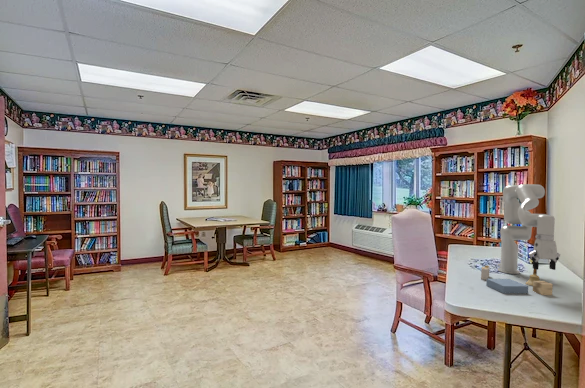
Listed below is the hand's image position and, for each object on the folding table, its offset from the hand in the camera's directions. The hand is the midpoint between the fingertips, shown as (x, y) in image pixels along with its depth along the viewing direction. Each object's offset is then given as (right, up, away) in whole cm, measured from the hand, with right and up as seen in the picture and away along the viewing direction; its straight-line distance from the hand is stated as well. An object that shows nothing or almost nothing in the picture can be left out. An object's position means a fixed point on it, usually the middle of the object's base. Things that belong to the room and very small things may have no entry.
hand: (543, 269), depth 177 cm
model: (-15, -13, +29) cm, 35 cm away
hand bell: (+7, -13, +16) cm, 22 cm away
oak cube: (0, -14, +1) cm, 14 cm away
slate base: (-17, -13, +6) cm, 22 cm away
